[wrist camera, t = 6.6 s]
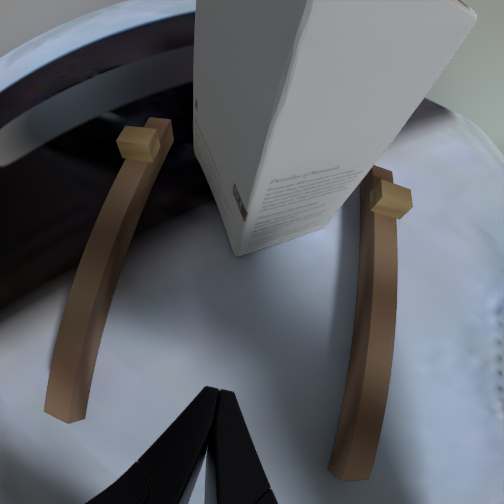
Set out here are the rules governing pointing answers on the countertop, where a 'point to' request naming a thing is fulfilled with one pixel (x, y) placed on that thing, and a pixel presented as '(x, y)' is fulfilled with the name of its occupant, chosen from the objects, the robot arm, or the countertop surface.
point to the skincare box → (307, 101)
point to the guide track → (114, 252)
